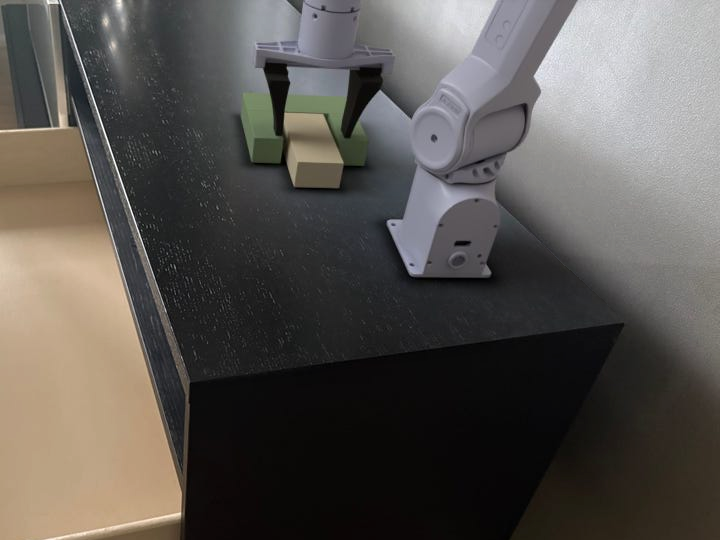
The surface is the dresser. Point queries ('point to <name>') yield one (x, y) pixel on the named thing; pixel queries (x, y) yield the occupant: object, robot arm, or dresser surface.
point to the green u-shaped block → (260, 112)
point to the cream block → (311, 151)
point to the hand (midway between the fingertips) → (311, 133)
